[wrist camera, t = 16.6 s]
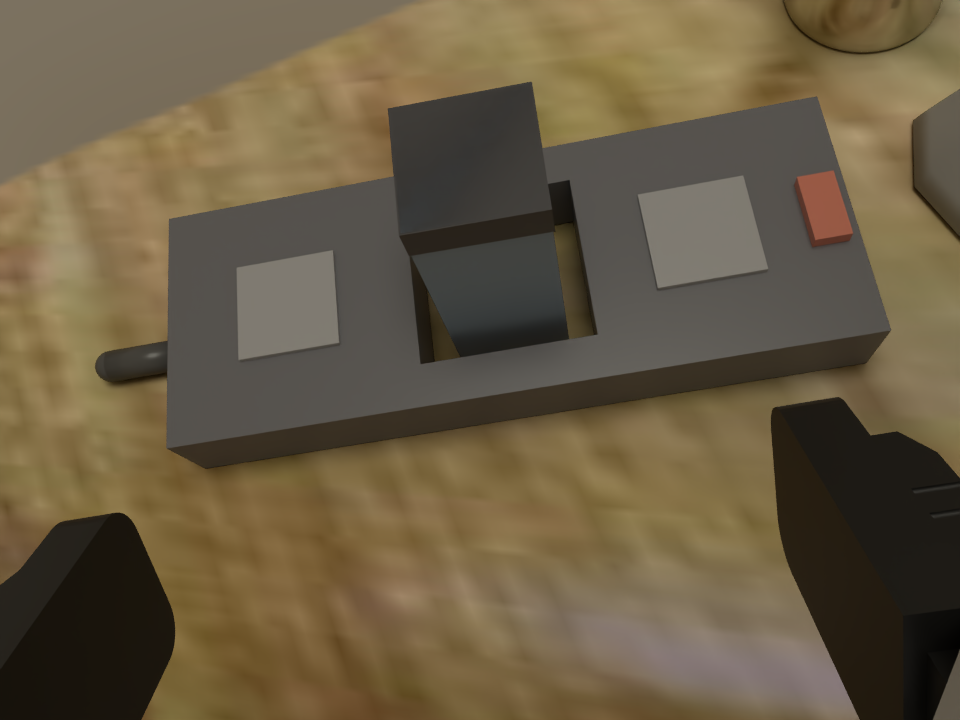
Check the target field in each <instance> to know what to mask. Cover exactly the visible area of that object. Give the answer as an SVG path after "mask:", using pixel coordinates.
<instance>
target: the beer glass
mask: <svg viewBox="0 0 960 720" xmlns="http://www.w3.org/2000/svg"><path fill="white" fill-rule="evenodd" d="M784 3H785V7H786V9H787V12H788V14H789V16H790V18H791V19H792V21H793V22H794V23H795V25H796V26H797V27H798V28H799V29H800V30H801V31H802V32H803V33H805V34H806V35H807V36H809V37H810V38H812V39H813V40H815V41H817V42H819V43H821V44H823V45H825V46H828V47H831V48H834V49H838V50H842V51H848V52H858V53H867V52H878V51H883V50H888V49H891V48H895V47H897V46H900V45H902V44H905V43H907V42H909V41H910V40H912V39H914V38H915V37H917V36H918V35H919V34H921V33H922V32H923V31H924V30H925V29H926V28H927V27H928V26H929V25H930V23H931V22H932V21H933V19H934V18H935V16H936V15H937V13H938V11H939V9H940V6H941V3H942V0H784Z"/></svg>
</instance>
